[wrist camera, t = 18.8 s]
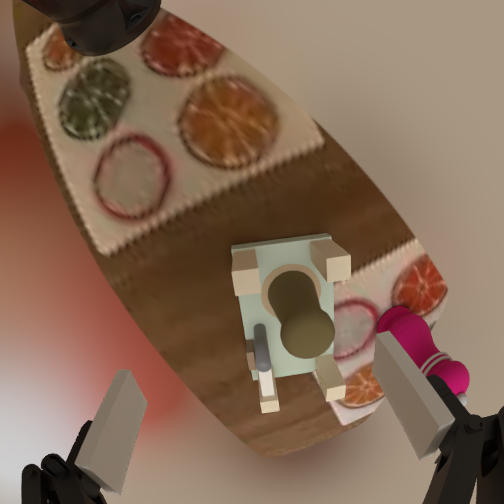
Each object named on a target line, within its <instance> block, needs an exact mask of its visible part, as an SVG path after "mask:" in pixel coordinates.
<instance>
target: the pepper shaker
mask: <svg viewBox="0 0 504 504" xmlns="http://www.w3.org/2000/svg"><path fill="white" fill-rule="evenodd" d="M268 300H269V303H270V305H271V307H272V309H273V311H274V312H275V314H276V316H277V318H278V320H279V322H280V323H281V331H280V338H281V341H282V344H283V346H284V348H285V349H286V350H287V351H288V353H289V354H291V355H293V356H295V357H297V358H302V359H312V358H315V357H318V356H320V355H321V354H323V353H325V352H326V350H327V349H328V348H329V347H330V345H331V344H332V342H333V340H334V336H335V328H334V323H333V321H332V319H331V318H330V316H329V315H328V313H326V312H325V311H323V310H322V309H321V306H320V303H319V299H318V295H317V292H316V288H315V285H314V282H313V281H312V279H311V278H310V277H309V276H308V275H307V274H305V273H303V272H300V271H287V272H283V273H281V274H280V275H278V276H277V277H275V279H274V280H273V281H272V282H271V284H270V286H269V289H268Z"/></svg>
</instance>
